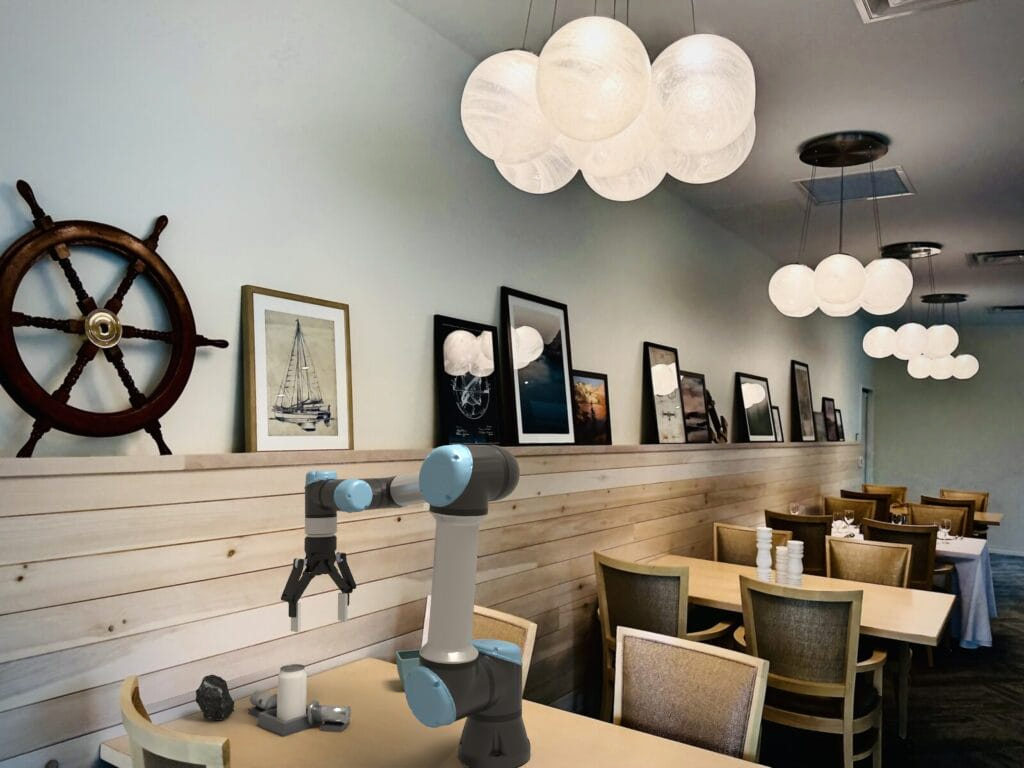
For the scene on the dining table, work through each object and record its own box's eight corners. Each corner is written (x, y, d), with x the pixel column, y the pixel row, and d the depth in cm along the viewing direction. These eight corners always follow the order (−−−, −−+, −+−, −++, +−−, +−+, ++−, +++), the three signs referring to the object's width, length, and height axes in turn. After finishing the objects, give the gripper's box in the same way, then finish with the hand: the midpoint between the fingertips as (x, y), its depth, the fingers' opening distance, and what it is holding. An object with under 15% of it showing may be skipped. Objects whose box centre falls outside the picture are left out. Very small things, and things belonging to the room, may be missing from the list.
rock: (191, 722, 172) (193, 678, 173) (212, 711, 179) (213, 669, 180) (220, 725, 170) (221, 681, 171) (239, 715, 177) (241, 672, 178)
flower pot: (394, 684, 199) (395, 650, 200) (427, 681, 202) (427, 648, 203) (399, 695, 191) (400, 659, 192) (433, 691, 194) (433, 656, 194)
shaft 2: (306, 730, 167) (307, 704, 168) (316, 721, 172) (316, 697, 173) (343, 732, 166) (343, 706, 166) (351, 724, 171) (352, 699, 171)
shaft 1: (286, 715, 176) (286, 691, 177) (266, 721, 172) (267, 697, 173) (265, 707, 182) (266, 684, 182) (246, 713, 178) (247, 689, 178)
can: (297, 726, 167) (298, 672, 168) (271, 724, 168) (272, 670, 170) (310, 716, 173) (311, 664, 175) (285, 714, 175) (286, 662, 176)
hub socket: (322, 723, 171) (322, 710, 172) (283, 736, 163) (283, 723, 164) (296, 713, 178) (296, 701, 178) (257, 725, 170) (258, 713, 170)
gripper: (351, 529, 189) (350, 614, 187) (266, 539, 169) (264, 634, 167) (370, 531, 184) (370, 618, 182) (285, 541, 165) (284, 638, 163)
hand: (319, 625), depth 175 cm, fingers open, 13 cm apart
